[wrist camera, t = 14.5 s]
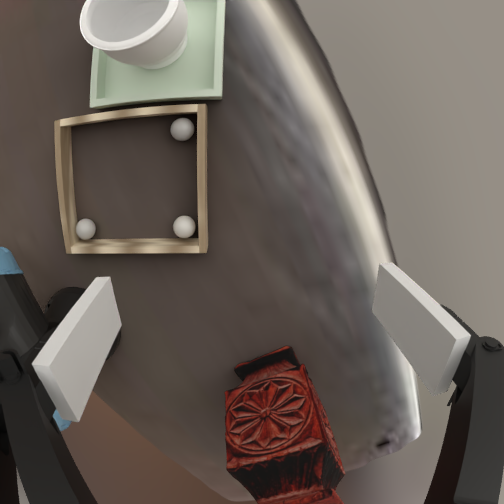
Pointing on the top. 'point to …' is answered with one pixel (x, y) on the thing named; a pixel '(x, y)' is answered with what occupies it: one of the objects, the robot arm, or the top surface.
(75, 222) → the bin
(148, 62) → the jar
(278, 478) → the vase
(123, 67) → the bin
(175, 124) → the pebble
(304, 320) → the top surface
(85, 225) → the white ball
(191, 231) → the pebble
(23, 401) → the robot arm
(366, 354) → the top surface
